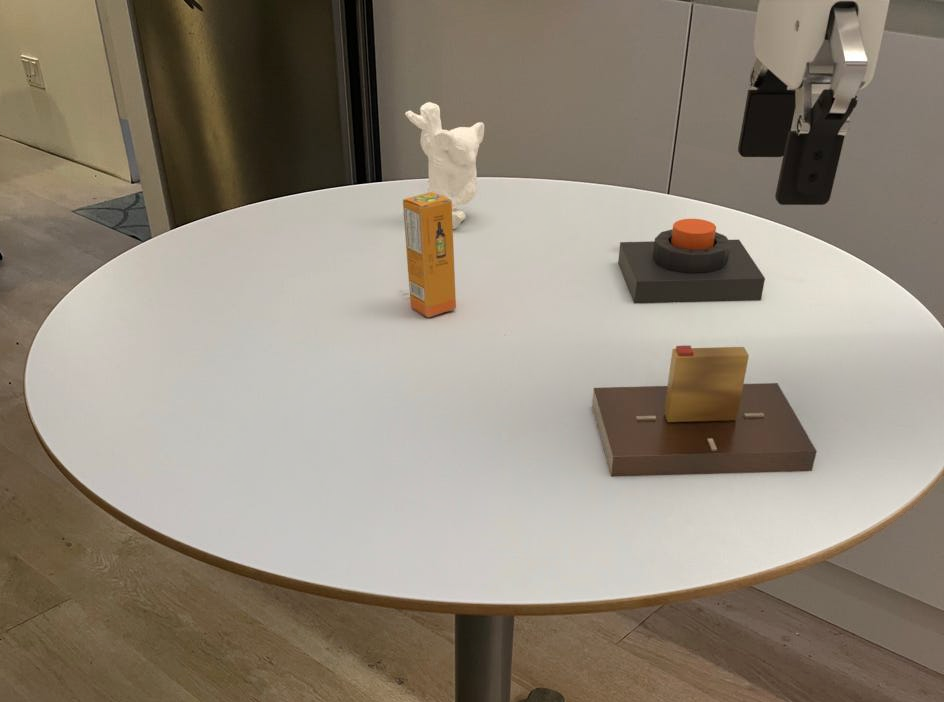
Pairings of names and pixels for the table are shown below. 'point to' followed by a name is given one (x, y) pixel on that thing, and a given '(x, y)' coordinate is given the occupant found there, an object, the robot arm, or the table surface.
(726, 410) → the red-tipped yellow slab
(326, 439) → the table surface
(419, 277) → the supplement box
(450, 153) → the white animal figurine
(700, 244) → the button
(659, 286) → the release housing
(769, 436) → the plate
